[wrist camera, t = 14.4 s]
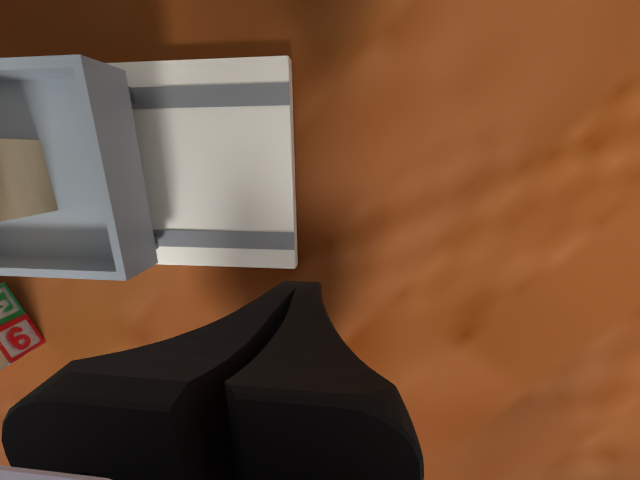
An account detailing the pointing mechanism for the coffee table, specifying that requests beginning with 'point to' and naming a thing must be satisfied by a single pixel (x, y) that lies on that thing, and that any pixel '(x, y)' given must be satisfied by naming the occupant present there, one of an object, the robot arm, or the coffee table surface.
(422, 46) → the coffee table surface
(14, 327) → the multicoloured piece
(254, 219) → the track board
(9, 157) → the maple block
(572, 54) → the coffee table surface
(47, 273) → the grey storage bin
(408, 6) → the coffee table surface
